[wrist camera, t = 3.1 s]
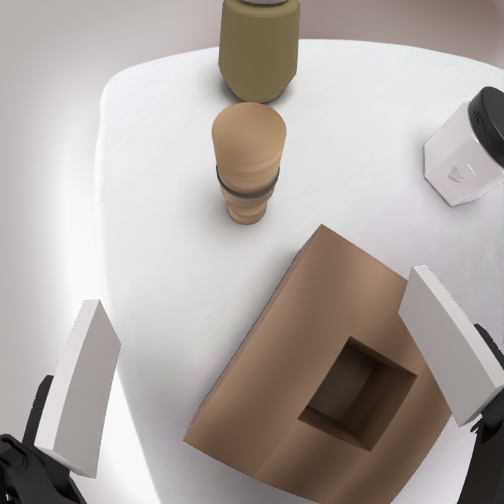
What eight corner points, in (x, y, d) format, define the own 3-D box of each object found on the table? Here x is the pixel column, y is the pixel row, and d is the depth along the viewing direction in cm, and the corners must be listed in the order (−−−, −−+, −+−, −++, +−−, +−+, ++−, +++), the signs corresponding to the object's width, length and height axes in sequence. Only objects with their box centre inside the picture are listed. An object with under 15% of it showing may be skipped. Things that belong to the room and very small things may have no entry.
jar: (408, 164, 29) (468, 101, 17) (435, 129, 30) (487, 72, 18) (461, 222, 28) (535, 183, 16) (483, 181, 29) (544, 139, 17)
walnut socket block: (432, 337, 25) (486, 339, 17) (347, 476, 22) (377, 518, 14) (299, 251, 26) (321, 223, 19) (200, 405, 23) (182, 440, 16)
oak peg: (279, 200, 27) (301, 121, 16) (254, 237, 27) (262, 176, 15) (239, 177, 28) (238, 91, 16) (214, 213, 27) (194, 140, 15)
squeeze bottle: (208, 101, 30) (188, -47, 12) (236, 57, 31) (235, -71, 14) (280, 121, 29) (307, -33, 12) (301, 74, 31) (329, -57, 13)
